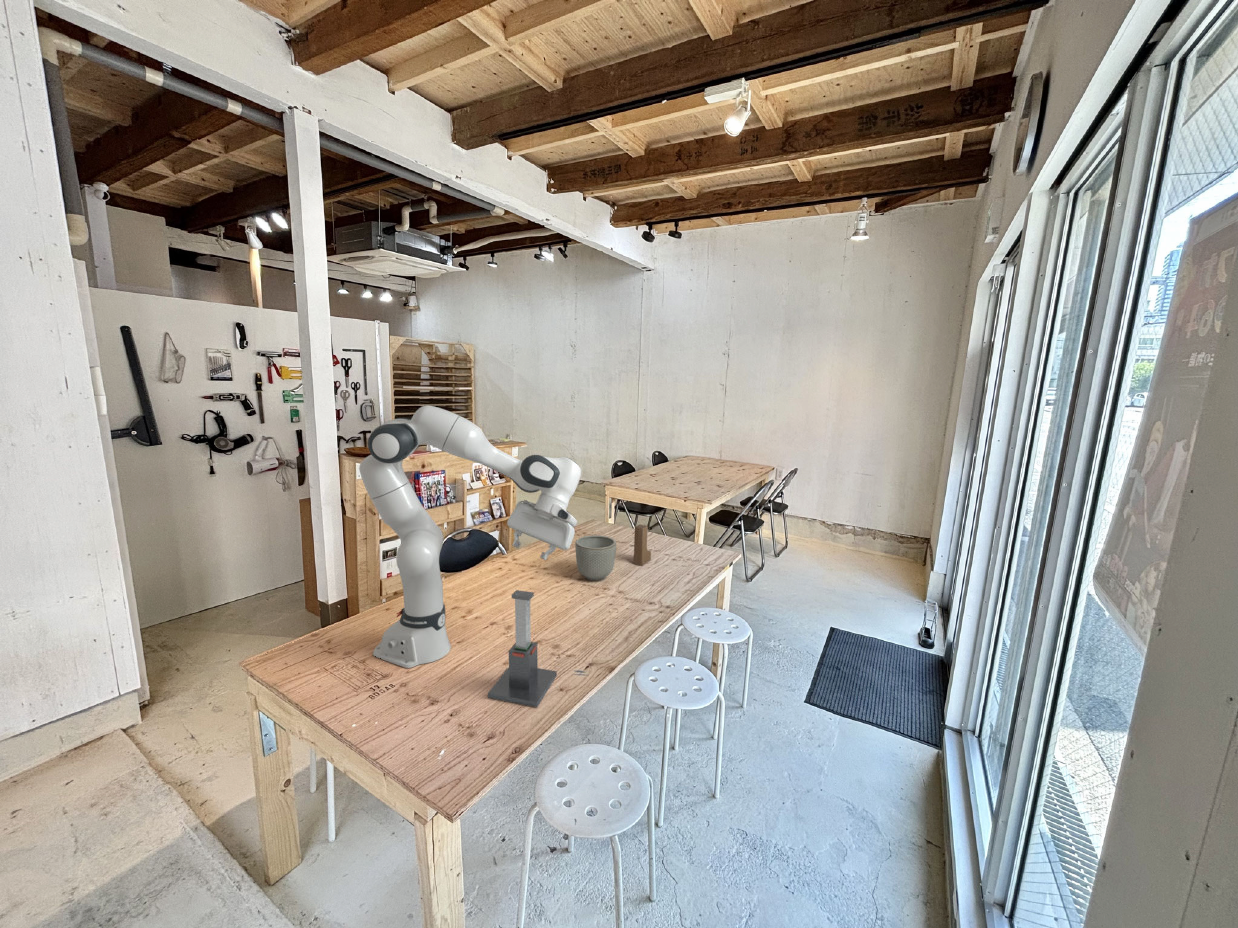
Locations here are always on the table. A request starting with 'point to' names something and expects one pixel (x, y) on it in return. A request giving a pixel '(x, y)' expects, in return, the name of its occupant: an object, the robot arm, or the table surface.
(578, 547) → the planter
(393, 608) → the table surface
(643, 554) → the wooden block
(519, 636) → the column
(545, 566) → the table surface
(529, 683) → the stand
